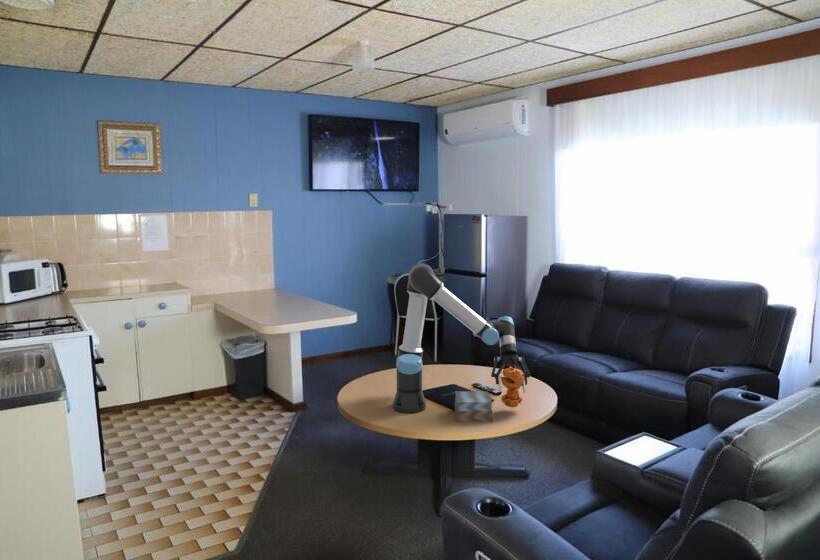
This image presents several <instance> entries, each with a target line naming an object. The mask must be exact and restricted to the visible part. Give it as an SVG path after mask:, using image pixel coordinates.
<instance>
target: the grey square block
mask: <svg viewBox="0 0 820 560" xmlns="http://www.w3.org/2000/svg"><path fill="white" fill-rule="evenodd" d="M492 403H493V402H492V399H491V397H490V394H489V392H488V391H484V390H483V391H478V390H477V391H474V390H473V391H471V390H469V391H468V390H467V391H466V390H465V391H464V390H463V391H457V390H455V399H454V413H455V417H456V418H455V419H456V422H457V423H459V422H463V423H465V422H466V423H467V422H468V423H469V422H471V423H472V422H473V423H474V422H475V423H476V422H477V423H479V422H480V423H484V422H485V423H486V422H487V423H490V422H491V423H492V422H493V408H492V407H493V404H492Z"/></svg>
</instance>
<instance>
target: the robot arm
mask: <svg viewBox="0 0 820 560" xmlns="http://www.w3.org/2000/svg"><path fill="white" fill-rule="evenodd" d="M444 285H445V284H444V282H443V281H442V280H441V279H439V278H438V277H437V276H436V275H435V272H434V270H433V268H432V267H431V266H430V265H428V264H426V263H416V264H414V265H413V266H412V267H411V268H410V269H409V272H408V281H407V287H406V289H407V290H406V292H407V293H408V295H409V297H408V304H407V305H408V306H407V309H406V310H407V311H406V317H405V324H404V325H405V326H404V333H403V339H402V344H401V345H399V346H398V351H397V357H396V361H395V367H396V391H395V395H394V397H393V401H392V409H394V411H396V412H399V413H406V414H414V413H420V412H423V411H425V410H426V408H427V402H426V398H425V396H424V392H423V353H424V349H423V348H422V347H421V346H422V345H421V344H422V339H423V332H424V327H425V326H424V325H425V317H426V311H427V305H428V300H429V301H430V300H431V301H432V300H433V301H434V302H435V303H437V304H438V306H440V307H442V308H443V309H444V310H445V311H446V312H448V313H449V314H450V315H452V316H453V317H454V318H455V319H456V320H458V321H459V322H460V323H462V325H464V326H465V327H466V328H468V329H469V330H470V331H471V332H472V335H473V336H474V337H478V338H479V339H481V340H482V342H483V343H485V344H486V345H488V346H493V345H496V344H497V343H498V341H499V354H500V356H497V355H495V356H494V358H493V367H492V371H491V375H490V377H491V378H494V379H495V385H498V393H501V391H502V381H501V378H500V377H501V376H500V375H501V374H502V372H503V370H504V369H505V366H506V367H509V366H510V367H514V366H515V367H516V368H517V369H519V370H521V371H522V372H523V374H524V375H523V378H524V376H525V381H524V379H523V383H522V384H523V386H522V392H523V393H526V391H527V390H526V389H527V387H526V386H527V385H528V378H531V372H530V370H529V367H528V364H527V363H526V359H525V356H521V357H520V356H518V352H517V342H516V335H515V323H514V319H513V318H512V317H510V316H507V315H504V316H500V317H498V319H497V320H496V321H492V320H485V319H484V318H483V317H482V316H480V314H478V313H476V312H475V310H473V309H471V308H470V306H468V305H467V304H466V303H464V302H463V301H462V300H461V299H460V298H458V297H457V296H456V295H455V294H453V292H451V291H450V290H449V289H448V288H446V287H445V286H444ZM500 361H501V365H500V367H499V368H498V370H497V372H496V369H497V364H498V363H499V362H500ZM518 361H519V362H520V363H521V366H522V367H521V366H520V364H519V362H518Z"/></svg>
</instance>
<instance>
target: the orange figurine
mask: <svg viewBox="0 0 820 560" xmlns="http://www.w3.org/2000/svg"><path fill="white" fill-rule="evenodd" d="M501 374H502V375H503V376H500V379H501V384H502V385H503V387H504V388H506V389H507V390H506V393H505V394H504V395H501V398H500V399H501V403H502V404H504V405H505V406H506V407H508V408H517V407H519V404H520V405H522V403H521V402H522V401H523V396H520V392H519V389H521V387H523V384H522V383H523V379H524V381H525V376H524V378H523V375H524V374H523V372H522V371H521V370H519V369H517V368H516V367H515V366H508V367H507V368H503V370H502V371H501Z"/></svg>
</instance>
